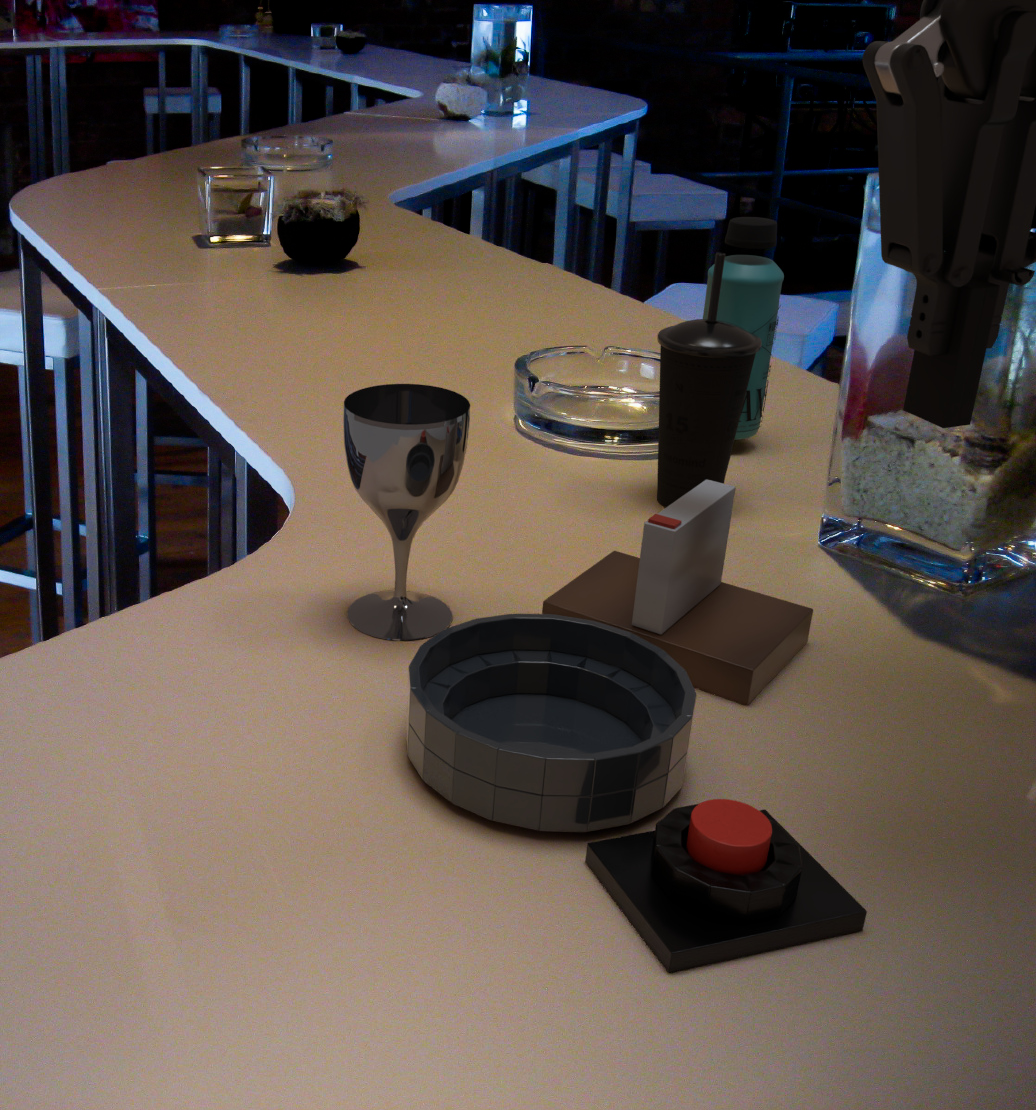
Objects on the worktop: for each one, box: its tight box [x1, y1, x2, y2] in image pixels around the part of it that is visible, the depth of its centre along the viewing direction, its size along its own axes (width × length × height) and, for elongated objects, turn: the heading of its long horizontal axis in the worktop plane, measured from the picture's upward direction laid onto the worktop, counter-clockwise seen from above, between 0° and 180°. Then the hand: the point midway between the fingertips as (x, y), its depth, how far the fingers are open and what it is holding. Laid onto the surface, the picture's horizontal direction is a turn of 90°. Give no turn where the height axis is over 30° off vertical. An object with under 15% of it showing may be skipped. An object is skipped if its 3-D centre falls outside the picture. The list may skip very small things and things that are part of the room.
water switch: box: [584, 803, 868, 975], centre depth 61 cm, size 10×8×3 cm
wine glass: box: [342, 383, 471, 642], centre depth 84 cm, size 8×8×15 cm
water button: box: [687, 798, 772, 875], centre depth 60 cm, size 4×4×2 cm
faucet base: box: [541, 550, 814, 707], centre depth 84 cm, size 14×10×2 cm
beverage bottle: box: [702, 216, 785, 441], centre depth 113 cm, size 6×7×20 cm
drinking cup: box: [656, 252, 762, 508], centre depth 101 cm, size 8×8×20 cm
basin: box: [405, 613, 697, 833], centre depth 71 cm, size 15×15×5 cm
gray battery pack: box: [632, 479, 736, 634], centre depth 82 cm, size 9×2×7 cm, turn 140°
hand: (936, 416), depth 61 cm, fingers closed
